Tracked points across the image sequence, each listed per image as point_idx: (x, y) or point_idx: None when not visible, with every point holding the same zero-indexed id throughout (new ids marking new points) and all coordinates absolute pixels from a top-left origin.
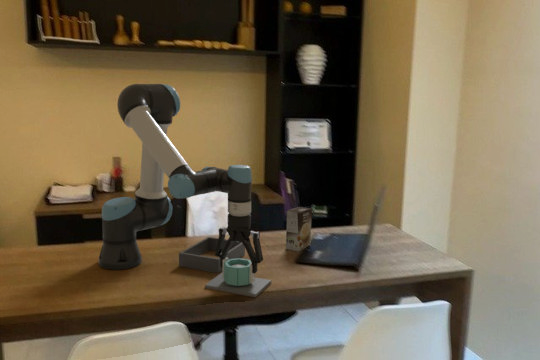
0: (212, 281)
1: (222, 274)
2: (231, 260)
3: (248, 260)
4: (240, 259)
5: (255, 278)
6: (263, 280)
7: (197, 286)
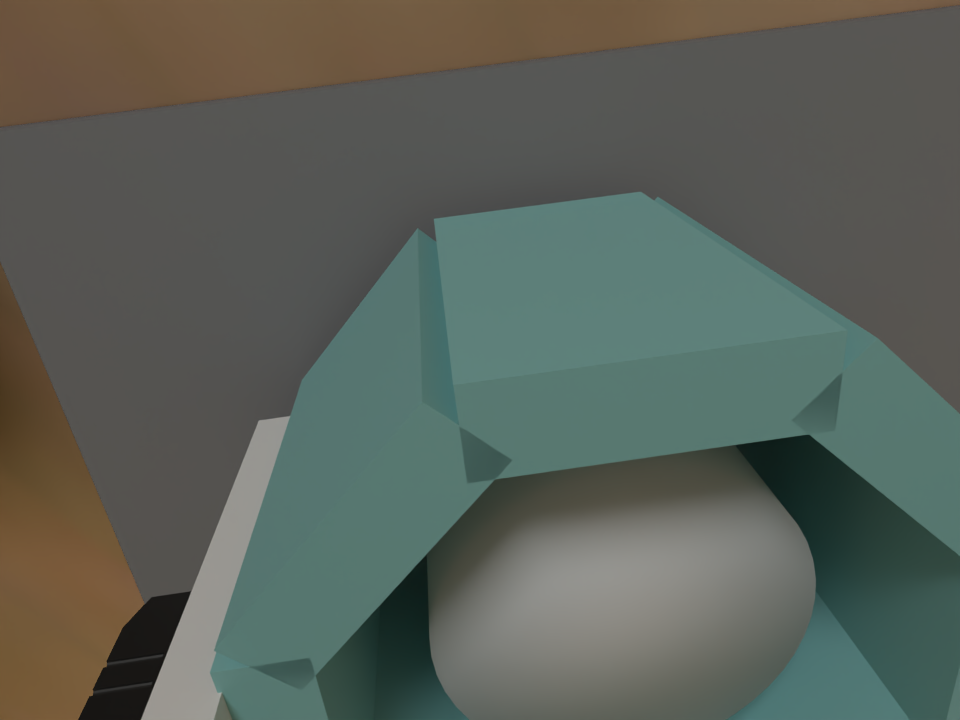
0: (179, 586)
1: (62, 268)
2: (326, 649)
3: (858, 413)
4: (548, 470)
5: (739, 89)
6: (918, 97)
7: (87, 688)
